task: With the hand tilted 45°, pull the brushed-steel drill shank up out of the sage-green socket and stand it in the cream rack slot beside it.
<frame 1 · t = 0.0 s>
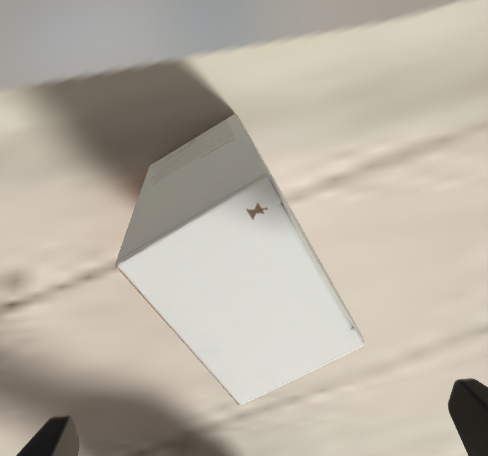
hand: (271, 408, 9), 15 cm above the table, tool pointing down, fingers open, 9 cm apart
small box: (229, 196, 23), on the table
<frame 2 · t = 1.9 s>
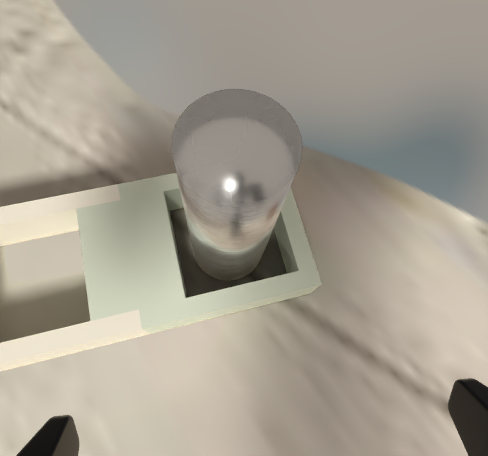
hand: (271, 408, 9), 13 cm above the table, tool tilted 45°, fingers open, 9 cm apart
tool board: (139, 265, 24), on the table
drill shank: (228, 245, 24), resting in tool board
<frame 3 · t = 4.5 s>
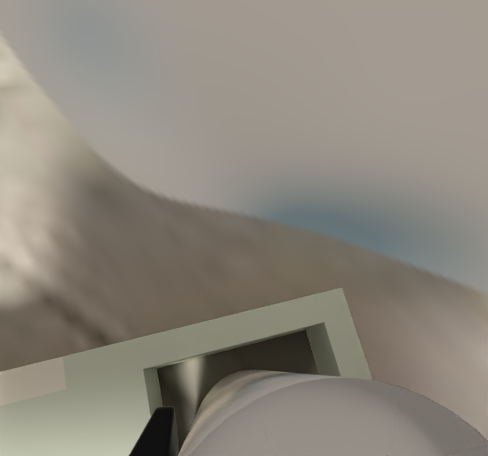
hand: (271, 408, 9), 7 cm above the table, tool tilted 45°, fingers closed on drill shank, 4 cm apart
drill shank: (252, 430, 15), resting in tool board, touching gripper
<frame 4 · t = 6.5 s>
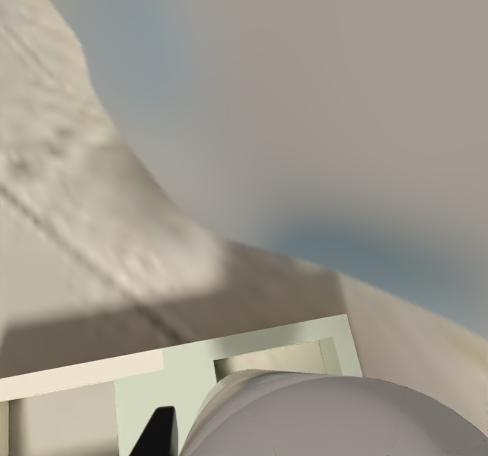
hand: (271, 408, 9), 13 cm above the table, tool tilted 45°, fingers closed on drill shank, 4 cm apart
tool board: (178, 429, 21), on the table
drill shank: (252, 430, 15), point 7 cm above the table, touching gripper
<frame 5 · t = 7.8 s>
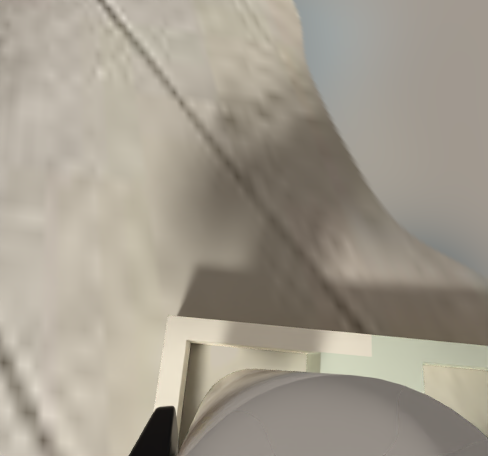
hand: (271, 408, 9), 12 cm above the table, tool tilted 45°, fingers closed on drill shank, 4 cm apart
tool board: (351, 421, 20), on the table
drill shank: (252, 430, 15), point 5 cm above the table, touching gripper
when the fingers open (8 cm above the table, at t = 8.9 s): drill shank drops 1 cm, resting in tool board.
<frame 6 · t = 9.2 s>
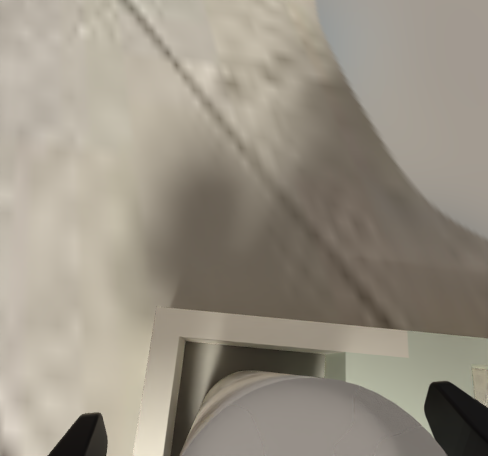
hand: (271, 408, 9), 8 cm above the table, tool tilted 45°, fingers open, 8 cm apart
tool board: (380, 436, 16), on the table
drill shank: (249, 426, 16), resting in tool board
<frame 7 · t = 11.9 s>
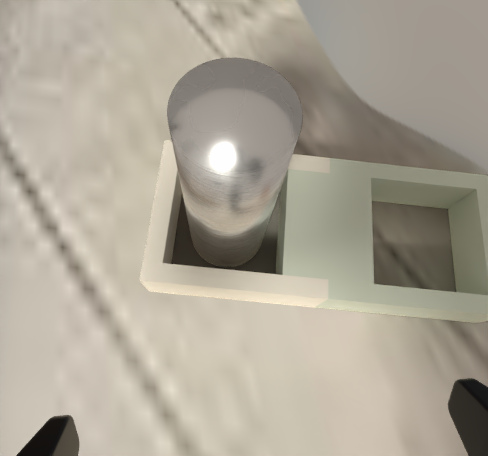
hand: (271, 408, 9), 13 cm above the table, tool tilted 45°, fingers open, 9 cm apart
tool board: (316, 240, 24), on the table
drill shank: (227, 232, 24), resting in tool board
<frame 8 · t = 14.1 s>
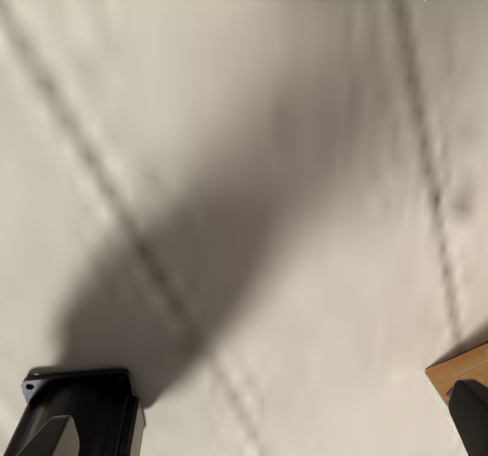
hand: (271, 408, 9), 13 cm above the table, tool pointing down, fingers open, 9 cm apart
small box: (481, 367, 29), on the table
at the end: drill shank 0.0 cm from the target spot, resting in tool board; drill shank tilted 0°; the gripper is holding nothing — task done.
